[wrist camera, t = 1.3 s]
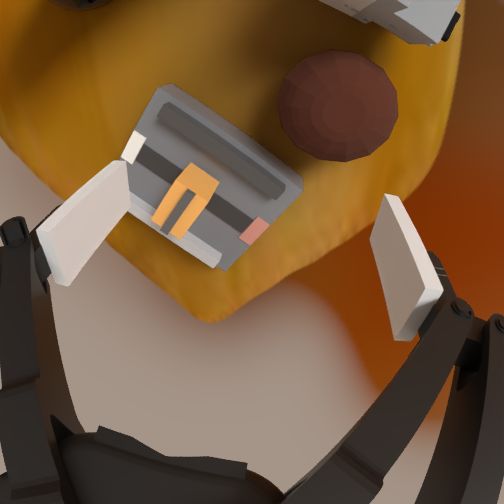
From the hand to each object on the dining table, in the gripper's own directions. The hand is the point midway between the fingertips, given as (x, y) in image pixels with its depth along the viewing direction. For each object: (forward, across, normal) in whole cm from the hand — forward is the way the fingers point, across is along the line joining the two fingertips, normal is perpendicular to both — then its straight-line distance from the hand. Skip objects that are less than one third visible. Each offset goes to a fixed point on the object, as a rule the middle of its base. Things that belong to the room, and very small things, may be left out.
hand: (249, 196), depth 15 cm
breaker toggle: (+18, -9, -10) cm, 22 cm away
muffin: (+23, +6, +2) cm, 24 cm away
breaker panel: (+23, -8, -10) cm, 26 cm away
